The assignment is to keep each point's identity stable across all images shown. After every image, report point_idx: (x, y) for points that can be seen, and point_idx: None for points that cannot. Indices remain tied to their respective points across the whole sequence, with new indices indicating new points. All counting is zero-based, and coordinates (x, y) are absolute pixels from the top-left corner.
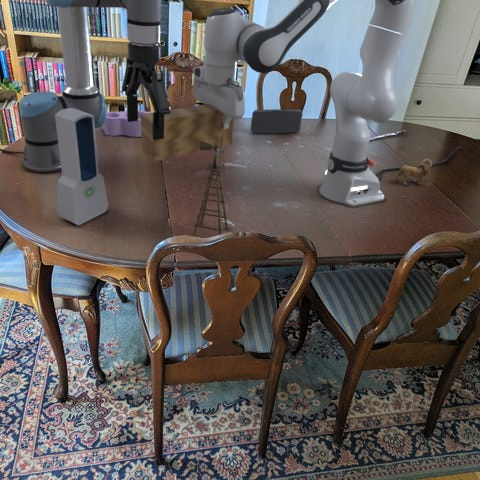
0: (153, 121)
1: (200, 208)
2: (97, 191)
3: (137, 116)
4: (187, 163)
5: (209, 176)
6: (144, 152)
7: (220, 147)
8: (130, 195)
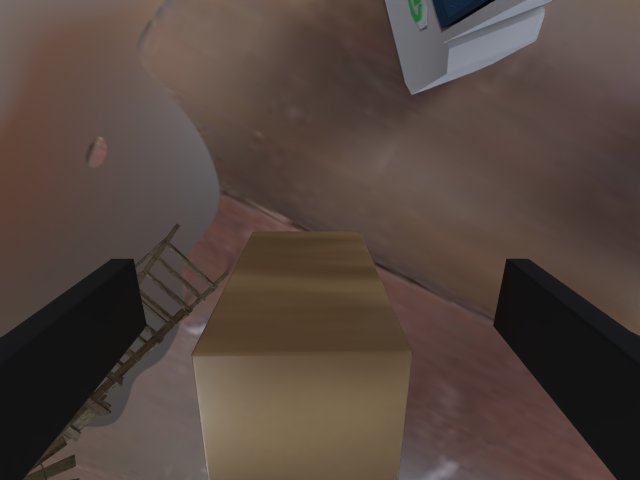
0: (13, 341)
1: (139, 273)
2: (422, 44)
3: (509, 342)
4: (513, 399)
5: None
6: (337, 236)
7: None
8: (451, 193)
